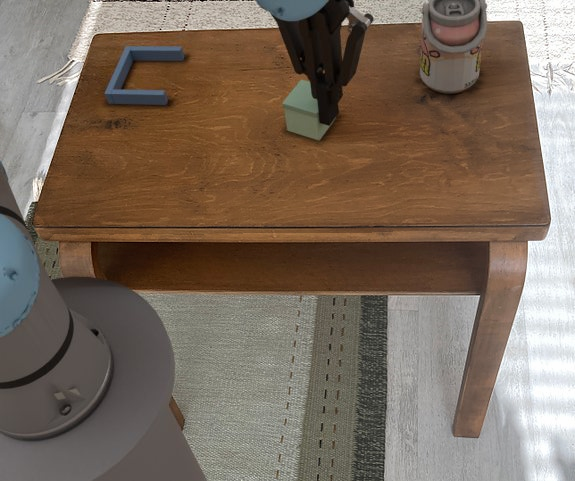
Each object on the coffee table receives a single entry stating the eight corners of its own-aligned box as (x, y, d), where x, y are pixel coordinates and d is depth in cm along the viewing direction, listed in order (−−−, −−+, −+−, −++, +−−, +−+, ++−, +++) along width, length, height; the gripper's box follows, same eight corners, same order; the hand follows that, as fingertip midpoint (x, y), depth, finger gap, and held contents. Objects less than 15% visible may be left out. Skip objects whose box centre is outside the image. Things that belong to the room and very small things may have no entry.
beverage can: (484, 99, 102) (494, 25, 93) (422, 104, 103) (425, 31, 93) (475, 56, 108) (483, -18, 98) (416, 61, 109) (418, -12, 99)
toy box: (286, 131, 102) (281, 103, 99) (304, 107, 105) (301, 79, 101) (319, 141, 100) (316, 113, 97) (337, 117, 103) (335, 88, 99)
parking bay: (184, 57, 115) (181, 46, 114) (166, 105, 109) (163, 94, 107) (129, 56, 117) (125, 45, 115) (108, 104, 110) (104, 93, 109)
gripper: (384, -55, 80) (386, 112, 98) (279, -75, 85) (300, 88, 103) (352, -16, 76) (361, 150, 94) (244, -39, 81) (272, 123, 99)
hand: (329, 117), depth 99 cm, fingers closed
